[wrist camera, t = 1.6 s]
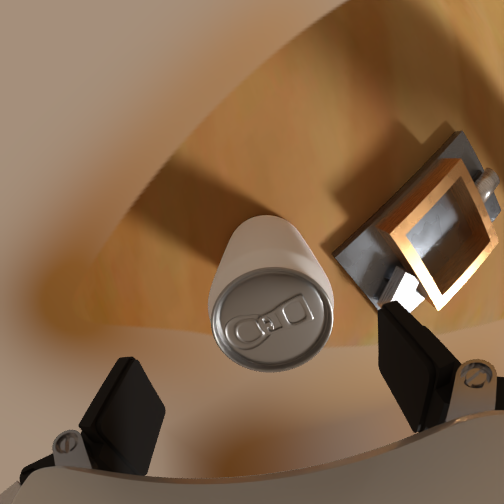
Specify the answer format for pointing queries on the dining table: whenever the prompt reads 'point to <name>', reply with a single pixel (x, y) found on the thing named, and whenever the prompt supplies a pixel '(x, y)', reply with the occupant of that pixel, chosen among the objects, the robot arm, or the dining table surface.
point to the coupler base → (427, 232)
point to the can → (270, 298)
